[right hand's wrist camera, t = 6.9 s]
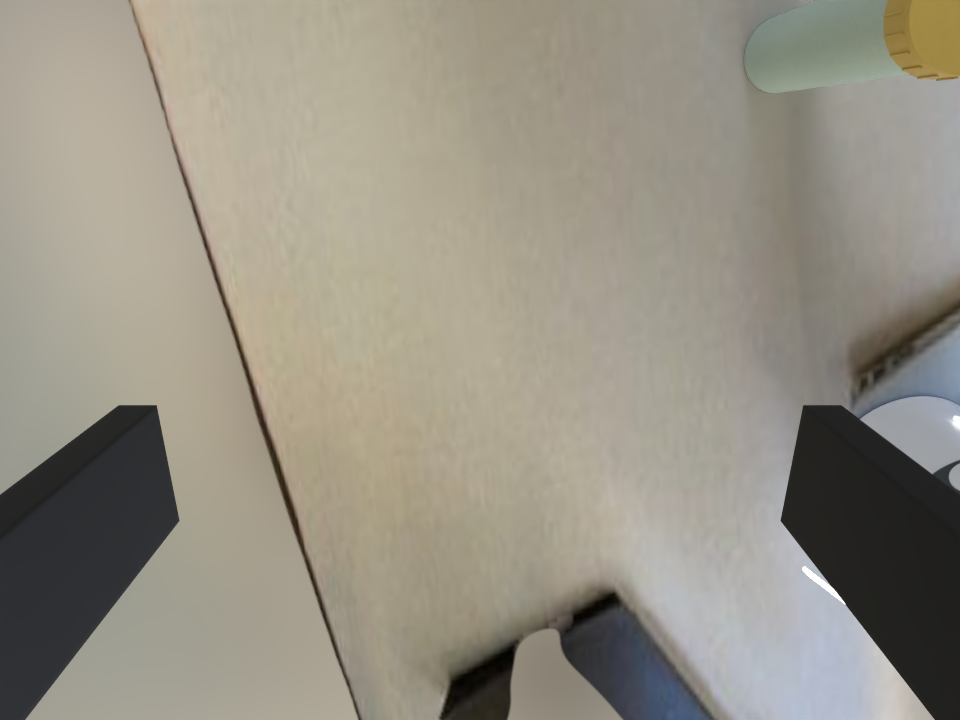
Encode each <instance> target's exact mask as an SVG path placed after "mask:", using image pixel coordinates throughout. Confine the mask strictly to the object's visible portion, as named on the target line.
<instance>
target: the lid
mask: <svg viewBox="0 0 960 720" xmlns="http://www.w3.org/2000/svg"><path fill="white" fill-rule="evenodd" d="M883 17H884V21H883V31H884V39H885V43H886V47H887V49H888V51H889V54H890V57H892V59H893V60H894V62H895V63H896V64H897V65H898V66H899V67H900V68H901V69H902V71H905V72H907V73H909V74H910V75H913V76H916V77H918V78H917V79H936V81H939V80H948V79H957V78H958V76H960V0H888V1H887V4H886V9H885V13H884V15H883Z"/></svg>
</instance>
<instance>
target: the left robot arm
mask: <svg viewBox="0 0 960 720" xmlns="http://www.w3.org/2000/svg"><path fill="white" fill-rule="evenodd" d="M860 420H861V421H863V422H864V423H865V424H867V425H868V426H869V427H870V428H872V429H873V430H874V431H876V432H877V433H878V434H880V435H881V436H882V437H884V438H885V439H886V440H888V441H889V442H890V443H892V444H893V445H894V446H896V447H897V448H898V449H900V450H901V451H902V452H904V453H905V454H906V455H908V456H909V457H910V458H912V459H913V460H914V461H916V462H917V463H918V464H920V465H921V466H922V467H924V468H925V469H926V470H928V471H929V472H930V473H931V474H933V475H934V476H935V477H937V478H938V479H939V480H941V481H942V482H943V483H945V484H946V485H947V486H949V487H950V488H951V489H953V490H954V491H955V492H957V493H958V494H959V495H960V406H959V405H958V404H956V403H954V402H952V401H949V400H946V399H943V398H938V397H931V396H915V397H908V398H903V399H899V400H895V401H892V402H889V403H887V404H884V405H882V406H880V407H878V408H876V409H874V410H872V411H871V412H869V413H868V414H866V415H865V416H863V417H862V418H861V419H860ZM802 569H803V571H804V572H805V573H806V574H807V575H808V576H809V577H810V578H812V579H813V580H814V581H816V582H817V583H818V584H820V585H821V586H822V587H823V588H825V589H826V590H827V591H829V592H830V593H831V594H833V595H834V596H835V597H836V598H838V599H839V600H840V601H842V599H841V598H840V597H839V595H838V594H837V593H836V592H835V590H834V589H833V588H832V587H830V586H829V585H828V584H826V583H825V582H824V581H823V580H821V579H820V578H819V577H817V576H816V575H815V574H814V573H812V572H811V571H810V570H808V569H807V568H806V567H803V568H802ZM842 602H843V601H842ZM843 603H844V602H843ZM844 604H845V603H844Z"/></svg>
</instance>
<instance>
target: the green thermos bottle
mask: <svg viewBox="0 0 960 720" xmlns="http://www.w3.org/2000/svg"><path fill="white" fill-rule="evenodd" d="M887 1H888V0H815V1H813V2H810V3H808V4H805V5H803V6H800V7H798V8H795V9H793V10H790V11H788V12H785V13H782V14H780V15H777V16H775V17H772V18H770V19H768V20H766V21H765V22H763V23H762V24H761V25H760V26H759V27H758V28H757V29H756V30H755V31H754V32H753V34H752V35H751V37H750V39H749V41H748V43H747V46H746V49H745V54H744V67H745V71H746V74H747V76H748V78H749V80H750V81H751V83H752V84H753V85H754V86H755V87H757V88H758V89H760V90H761V91H764V92H768V93H781V92H789V91H796V90H803V89H811V88H818V87H826V86H833V85H841V84H848V83H855V82H863V81H870V80H878V79H885V78H892V77H900V76H907V75H910V74H909V73H907V72H905V71H902V69H901V68H900V67H899V66H898V65H897V64H896V63H895V62H894V60H893V59H892V57H890V54H889V51H888V49H887V47H886V43H885V39H884V31H883V21H884V17H883V15H884V13H885V9H886V4H887Z"/></svg>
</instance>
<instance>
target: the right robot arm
mask: <svg viewBox="0 0 960 720" xmlns="http://www.w3.org/2000/svg"><path fill="white" fill-rule="evenodd" d="M178 522H179V517H178V511H177V506H176V501H175V496H174V491H173V486H172V481H171V476H170V471H169V466H168V461H167V456H166V451H165V446H164V441H163V436H162V430H161V425H160V420H159V415H158V410H157V406H156V405H119V406H117V407H116V408H115V409H113V410H112V411H111V412H109V413H108V414H107V415H105V416H104V417H103V418H101V419H100V420H99V421H98V422H96V423H95V424H93V425H92V426H91V427H90V428H88V429H87V430H86V431H84V432H83V433H82V434H80V435H79V436H78V437H76V438H75V439H74V440H72V441H71V442H70V443H68V444H67V445H66V446H64V447H63V448H62V449H60V450H59V451H58V452H56V453H55V454H54V455H52V456H51V457H50V458H48V459H47V460H46V461H44V462H43V463H42V464H41V465H39V466H38V467H36V468H35V469H34V470H32V471H31V472H30V473H29V474H27V475H26V476H25V477H23V478H22V479H21V480H19V481H18V482H17V483H15V484H14V485H13V486H11V487H10V488H9V489H7V490H6V491H5V492H3V493H2V494H1V495H0V720H25V719H26V718H27V717H28V715H29V714H30V713H31V711H32V710H33V709H34V708H35V706H36V705H37V704H38V702H39V701H40V700H41V698H42V697H43V696H44V695H45V693H46V692H47V691H48V690H49V688H50V687H51V686H52V684H53V683H54V682H55V680H56V679H57V678H58V677H59V675H60V674H61V673H62V671H63V670H64V669H65V668H66V666H67V665H68V664H69V662H70V661H71V660H72V659H73V657H74V656H75V655H76V653H77V652H78V651H79V650H80V648H81V647H82V646H83V644H84V643H85V642H86V640H87V639H88V638H89V637H90V635H91V634H92V633H93V631H94V630H95V629H96V628H97V626H98V625H99V624H100V622H101V621H102V620H103V619H104V617H105V616H106V615H107V613H108V612H109V611H110V610H111V608H112V607H113V606H114V604H115V603H116V602H117V600H118V599H119V598H120V597H121V595H122V594H123V593H124V591H125V590H126V589H127V588H128V586H129V585H130V584H131V582H132V581H133V580H134V579H135V577H136V576H137V575H138V573H139V572H140V571H141V570H142V568H143V567H144V566H145V564H146V563H147V562H148V561H149V559H150V558H151V557H152V555H153V554H154V553H155V552H156V550H157V549H158V548H159V546H160V545H161V544H162V542H163V541H164V540H165V539H166V537H167V536H168V535H169V533H170V532H171V531H172V530H173V528H174V527H175V526H176V524H177V523H178ZM781 522H782V523H783V524H784V526H785V527H786V528H787V530H788V531H789V532H790V533H791V535H792V536H793V537H794V539H795V540H796V541H797V542H798V544H799V545H800V546H801V548H802V549H803V550H804V552H805V553H806V554H807V555H808V557H809V558H810V559H811V561H812V562H813V563H814V564H815V566H816V567H817V568H818V570H819V571H820V572H821V573H822V575H823V576H824V577H825V579H826V580H827V581H828V582H829V584H830V585H831V586H832V588H833V589H834V590H835V592H836V593H837V594H838V595H839V597H840V598H841V599H842V601H843V602H844V603H845V604H846V606H847V607H848V608H849V610H850V611H851V612H852V613H853V615H854V616H855V617H856V619H857V620H858V621H859V622H860V624H861V625H862V626H863V628H864V629H865V630H866V631H867V633H868V634H869V635H870V637H871V638H872V639H873V641H874V642H875V643H876V644H877V646H878V647H879V648H880V650H881V651H882V652H883V653H884V655H885V656H886V657H887V659H888V660H889V661H890V662H891V664H892V665H893V666H894V668H895V669H896V670H897V671H898V673H899V674H900V675H901V677H902V678H903V679H904V680H905V682H906V683H907V684H908V686H909V687H910V688H911V690H912V691H913V692H914V693H915V695H916V696H917V697H918V699H919V700H920V701H921V702H922V704H923V705H924V706H925V708H926V709H927V710H928V711H929V713H930V714H931V715H932V717H933V718H934V719H935V720H960V495H959V494H958V493H957V492H955V491H954V490H953V489H951V488H950V487H949V486H947V485H946V484H945V483H943V482H942V481H941V480H939V479H938V478H937V477H935V476H934V475H933V474H931V473H930V472H929V471H928V470H926V469H925V468H924V467H922V466H921V465H920V464H918V463H917V462H916V461H914V460H913V459H912V458H910V457H909V456H908V455H906V454H905V453H904V452H902V451H901V450H900V449H898V448H897V447H896V446H894V445H893V444H892V443H890V442H889V441H888V440H886V439H885V438H884V437H882V436H881V435H880V434H878V433H877V432H876V431H874V430H873V429H872V428H870V427H869V426H868V425H867V424H865V423H864V422H863V421H861V420H860V419H859V418H857V417H856V416H855V415H853V414H852V413H851V412H849V411H848V410H847V409H845V408H844V407H843V406H841V405H803V410H802V415H801V420H800V425H799V430H798V436H797V441H796V446H795V451H794V456H793V461H792V466H791V471H790V476H789V481H788V486H787V491H786V496H785V501H784V506H783V511H782V517H781Z"/></svg>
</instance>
